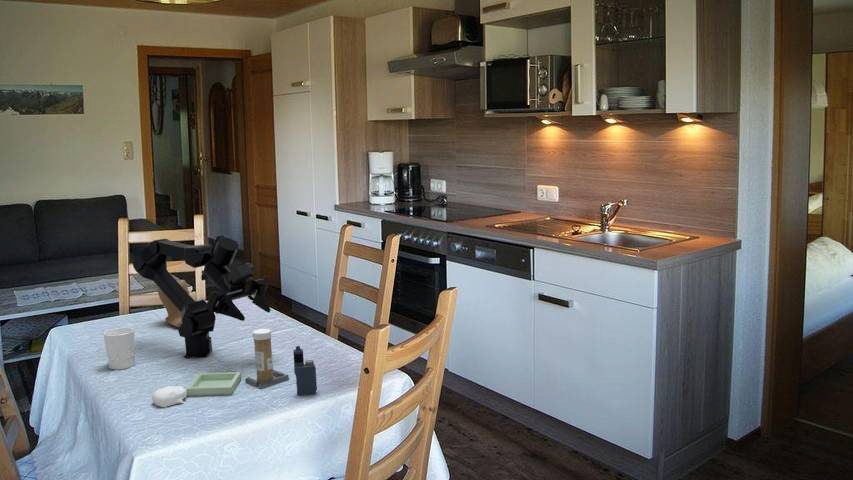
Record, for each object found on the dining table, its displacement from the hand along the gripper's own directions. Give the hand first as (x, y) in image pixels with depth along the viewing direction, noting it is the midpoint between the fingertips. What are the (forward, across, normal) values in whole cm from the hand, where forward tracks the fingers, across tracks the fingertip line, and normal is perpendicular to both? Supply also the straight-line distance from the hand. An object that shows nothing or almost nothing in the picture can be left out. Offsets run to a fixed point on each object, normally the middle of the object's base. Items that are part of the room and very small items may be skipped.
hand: (257, 315), depth 198 cm
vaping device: (+28, -7, -1) cm, 29 cm away
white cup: (-21, -18, +34) cm, 43 cm away
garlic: (+7, -28, +14) cm, 32 cm away
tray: (+9, -16, +12) cm, 22 cm away
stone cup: (-38, +18, +45) cm, 62 cm away
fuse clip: (+15, -6, +8) cm, 18 cm away
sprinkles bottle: (+15, -6, +8) cm, 18 cm away
